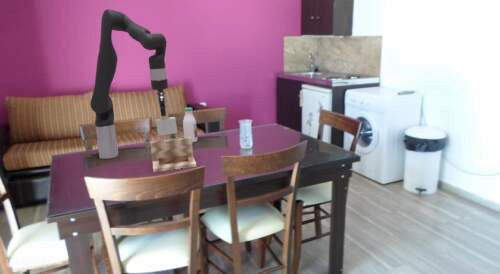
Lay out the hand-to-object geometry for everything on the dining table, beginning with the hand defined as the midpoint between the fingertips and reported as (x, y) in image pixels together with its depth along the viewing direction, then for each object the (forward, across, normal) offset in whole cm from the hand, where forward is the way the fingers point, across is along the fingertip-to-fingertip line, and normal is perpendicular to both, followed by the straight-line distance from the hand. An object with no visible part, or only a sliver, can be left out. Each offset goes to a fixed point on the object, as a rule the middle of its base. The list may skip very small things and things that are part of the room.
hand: (163, 115), depth 182 cm
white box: (+9, 0, +1) cm, 9 cm away
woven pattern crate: (+25, +1, +2) cm, 25 cm away
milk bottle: (+25, -39, +15) cm, 49 cm away
